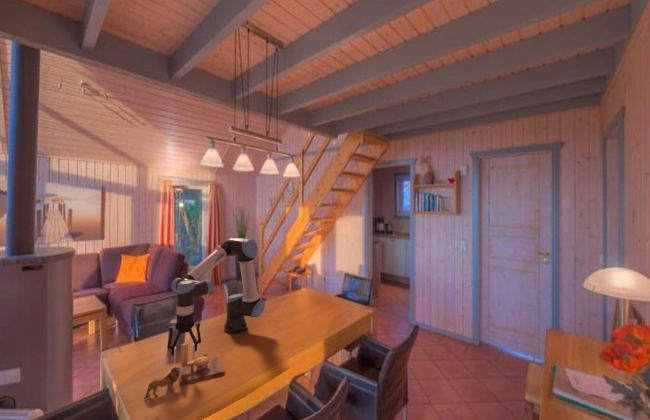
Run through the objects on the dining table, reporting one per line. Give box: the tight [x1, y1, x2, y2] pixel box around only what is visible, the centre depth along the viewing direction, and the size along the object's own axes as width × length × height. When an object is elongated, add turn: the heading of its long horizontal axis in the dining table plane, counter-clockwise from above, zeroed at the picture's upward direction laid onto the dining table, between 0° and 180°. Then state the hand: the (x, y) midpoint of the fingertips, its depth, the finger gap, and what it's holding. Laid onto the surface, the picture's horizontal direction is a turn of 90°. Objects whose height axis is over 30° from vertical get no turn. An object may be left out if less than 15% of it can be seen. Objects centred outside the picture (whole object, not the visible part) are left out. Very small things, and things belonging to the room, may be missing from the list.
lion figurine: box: [143, 366, 180, 400], centre depth 126 cm, size 15×5×9 cm, turn 140°
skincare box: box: [167, 318, 186, 352], centre depth 168 cm, size 8×7×16 cm
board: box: [178, 353, 226, 386], centre depth 144 cm, size 20×16×6 cm
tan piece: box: [180, 342, 210, 367], centre depth 142 cm, size 13×7×11 cm, turn 118°
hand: (184, 359), depth 140 cm, fingers open, 8 cm apart
